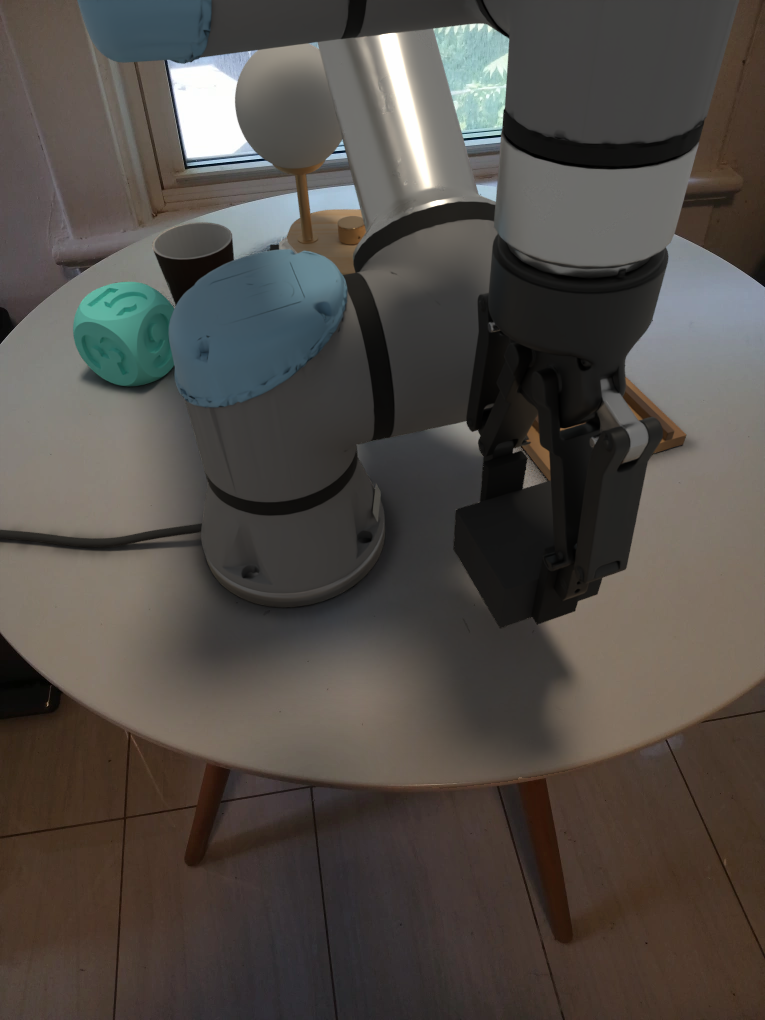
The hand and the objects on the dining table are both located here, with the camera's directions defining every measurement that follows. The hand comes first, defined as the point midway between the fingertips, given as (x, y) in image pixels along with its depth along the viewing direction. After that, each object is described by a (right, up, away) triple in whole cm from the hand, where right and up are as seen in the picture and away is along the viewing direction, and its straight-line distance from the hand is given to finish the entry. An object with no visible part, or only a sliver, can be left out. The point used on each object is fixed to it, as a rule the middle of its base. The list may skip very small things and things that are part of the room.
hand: (523, 568), depth 48 cm
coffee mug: (-29, +27, +39) cm, 56 cm away
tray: (+9, +15, +25) cm, 30 cm away
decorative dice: (-36, +20, +32) cm, 52 cm away
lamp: (-8, +35, +46) cm, 58 cm away
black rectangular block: (0, 0, 0) cm, 0 cm away
